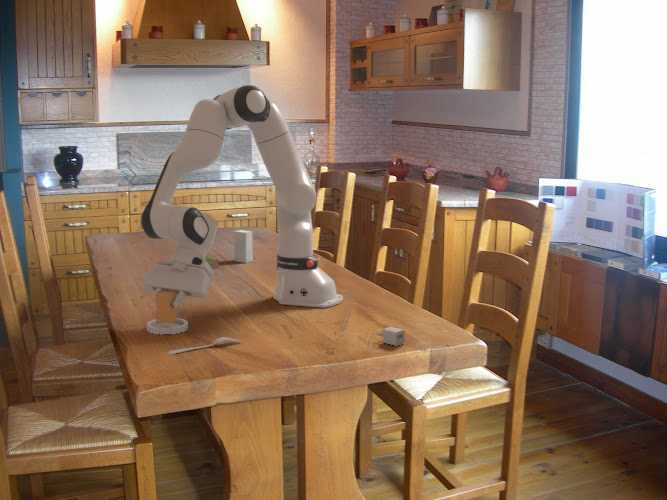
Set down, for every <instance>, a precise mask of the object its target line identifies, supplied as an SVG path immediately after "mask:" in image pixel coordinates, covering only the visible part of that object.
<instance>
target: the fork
mask: <svg viewBox="0 0 667 500" xmlns="http://www.w3.org/2000/svg"><path fill="white" fill-rule="evenodd" d="M224 341H232V342H237V343H239V344H242V342H241V341H240V340H238V339H236V338H231V337H226V336H222V337H218V338H216V339H215V340H214V342H212V343H210V344H207V345H203V346H201V345H200V346H195V347H186V348H180V349H179V348H178V349H173V350H170V351H167V352H168V353H170V354H173V355H176V353H177V354H181V353H185V352H189V351H193V350H194V349H195V350H199V349H205V348H208V347H209V348H210V347H212V346H214V345H217V344H220V343H221V342H224ZM195 350H194V351H195Z"/></svg>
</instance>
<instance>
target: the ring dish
mask: <svg viewBox="0 0 667 500" xmlns="http://www.w3.org/2000/svg"><path fill="white" fill-rule="evenodd" d="M188 328H189V322H188V320H186V319H184V318H182V317H181V318H180V317H177V321H174V322H172V323H170V324H166V323H160V322H157V318H154V319H152V320H149V321H147V323H146V331H147V332H148V333H150V334H152V333H153V334H152V335H158V334H160V336H163V335H164V334H170V335H171V334H172V335H177V334H181V333H180V332H182V333H184V332H186V331H188ZM176 333H177V334H176ZM162 334H163V335H162ZM164 336H165V335H164Z"/></svg>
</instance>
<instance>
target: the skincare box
mask: <svg viewBox="0 0 667 500" xmlns="http://www.w3.org/2000/svg"><path fill="white" fill-rule="evenodd" d="M233 234H234V235H233V237H234V238H233V242H234V243H233V244H234V245H233V246H234V250H233V251H234V253H233V254H234V262H239V263H244V264H248V263H250V262H253V258H254V257H253V230H251V231H250V230H245V229H244V230H243V229H242V230H241V229H240V230H235V231H233Z"/></svg>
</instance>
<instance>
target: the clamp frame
mask: <svg viewBox="0 0 667 500" xmlns="http://www.w3.org/2000/svg"><path fill="white" fill-rule="evenodd" d="M205 258H207V257H206V256H205ZM207 263H208V264H209V265H210V267H211V268H212V269H213V270H215V269H217V268H219V259H218V258H215V257H214V258H213V257H210V261H208V262H207Z"/></svg>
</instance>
